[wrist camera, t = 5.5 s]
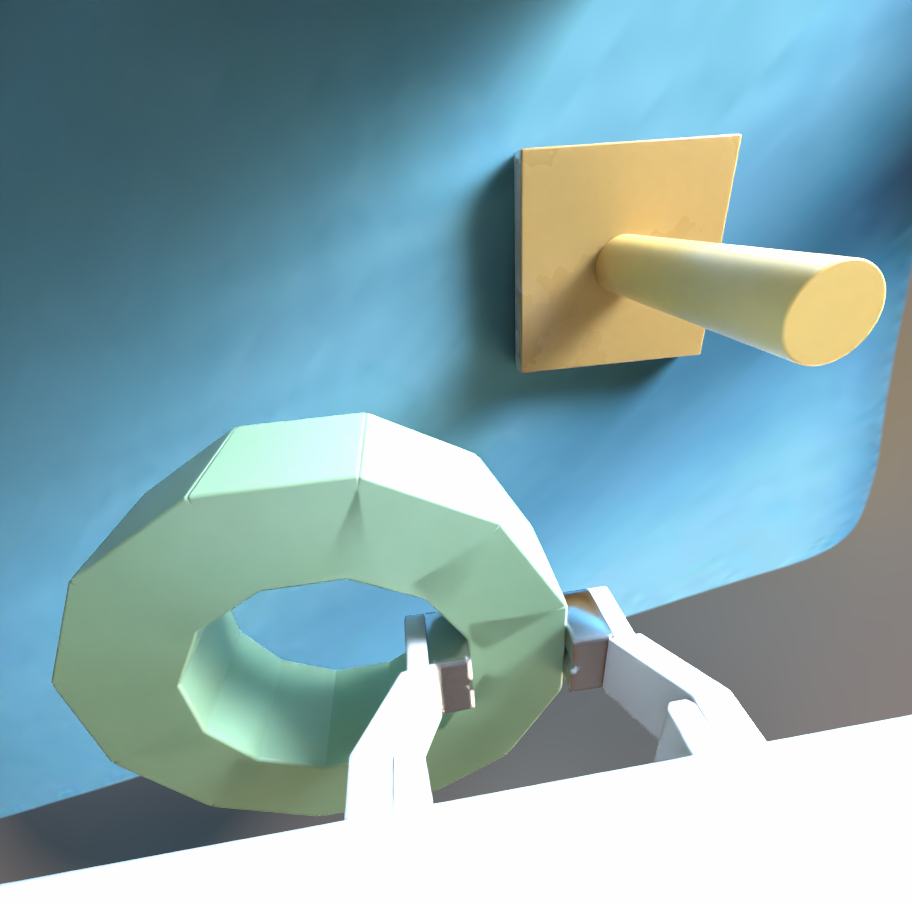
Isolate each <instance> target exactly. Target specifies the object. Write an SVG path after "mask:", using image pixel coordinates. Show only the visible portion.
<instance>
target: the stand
mask: <svg viewBox="0 0 912 904" xmlns="http://www.w3.org/2000/svg"><path fill="white" fill-rule="evenodd" d="M741 137H742V135H741V134H725V135H710V136H696V137H682V138H667V139H653V140H638V141H624V142H609V143H595V144H580V145H566V146H551V147H537V148H523V149H521V150H518V151H516V152H515V154H514V195H515V362H516V367H517V368H518V369H519V371H520V372H521V373H526V372H536V371H546V370H555V369H565V368H574V367H584V366H594V365H603V364H613V363H622V362H632V361H642V360H651V359H661V358H670V357H680V356H690V355H699V354H700V353H701V347H702V342H703V337H704V332H705V329H708V330H710V331H713V332H716V333H718V334H721V335H723V336H726V337H729V338H731V339H734V340H737V341H739V342H742V343H744V344H747V345H750V346H752V347H755V348H757V349H760V350H763V351H765V352H768V353H770V354H773V355H776V356H778V357H781V358H784V359H786V360H789V361H791V362H794V363H797V364H799V365H803V366H820V365H825V364H828V363H831V362H834V361H836V360H838V359H840V358H842V357H844V356H845V355H847V354H848V353H850V352H851V351H852V350H853V349H855V348H856V347H857V346H858V345H859V344H860V343H861V342H862V341H863V340H864V339H865V338H866V337H867V335H868V334H869V333H870V332H871V330H872V329H873V327H874V326H875V324H876V322H877V320H878V319H879V317H880V314H881V312H882V309H883V306H884V302H885V297H886V284H885V280H884V277H883V274H882V272H881V271H880V269H879V268H878V267H877V266H876V265H875V264H873V263H872V262H870V261H869V260H866V259H863V258H857V257H847V256H837V255H827V254H818V253H808V252H798V251H789V250H779V249H769V248H760V247H750V246H740V245H731V244H721V242H722V237H723V232H724V226H725V221H726V216H727V211H728V205H729V200H730V195H731V189H732V184H733V179H734V174H735V168H736V163H737V158H738V153H739V147H740V142H741Z"/></svg>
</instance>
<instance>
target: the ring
mask: <svg viewBox="0 0 912 904" xmlns="http://www.w3.org/2000/svg"><path fill="white" fill-rule="evenodd" d="M342 579H350V580H354V581H358V582H361V583H365V584H369V585H373V586H377V587H381V588H385V589H388V590H392V591H396V592H400V593H404V594H408V595H412V596H415V597H419V598H423V599H426V600H427V601H428V602H429V603H430V604H431V605H432V606H433V607H434V608H435V609H436V610H437V611H438V612H439V613H440V614H441V615H443V616H444V617H445V618H446V619H447V620H448V621H449V622H450V623H451V624H452V625H453V626H454V627H455V628H456V629H457V630H458V631H459V632H460V633H461V634H462V635H464V636H465V637H466V638H467V639H468V645H469V650H470V656H471V664H472V675H473V679H472V683H473V689H474V701H475V708H472V709H467V710H462V711H457V712H452V713H447V714H442V718H441V721H440V723H439V726H438V728H437V731H436V733H435V735H434V738H433V740H432V743H431V745H430V748H429V750H428V752H427V755H426V757H425V758H426V764H427V770H428V775H429V781H430V787H431V793H433V792H434V791H436V790H438V789H440V788H442V787H444V786H446V785H448V784H450V783H452V782H454V781H456V780H458V779H460V778H462V777H464V776H466V775H468V774H470V773H472V772H473V771H475V770H477V769H479V768H481V767H483V766H485V765H487V764H489V763H491V762H493V761H495V760H497V759H499V758H501V757H503V756H505V755H506V753H508V752H509V751H510V750H511V749H512V748H513V746H514V745H515V744H516V743H517V742H518V740H519V739H520V738H521V737H522V736H523V734H524V733H525V732H526V731H527V730H528V728H529V727H530V726H531V725H532V724H533V722H534V721H535V720H536V719H537V718H538V716H539V715H540V714H541V713H542V712H543V710H544V709H545V708H546V707H547V705H548V704H549V703H550V702H551V701H552V700H553V698H554V697H555V696H556V695H557V694H558V692H559V691H560V690H561V687H562V679H563V673H562V672H563V656H564V650H565V644H564V641H565V627H566V621H567V607H568V606H567V604H566V600H565V598H564V596H563V594H562V591H561V589H560V587H559V585H558V582H557V580H556V578H555V576H554V574H553V571H552V569H551V567H550V565H549V563H548V560H547V558H546V556H545V554H544V552H543V549H542V547H541V545H540V543H539V540H538V538H537V536H536V534H535V532H534V529H533V527H532V526H531V524H530V523H529V522H528V520H527V519H526V518H525V516H524V515H523V514H522V512H521V511H520V510H519V509H518V507H517V506H516V505H515V503H514V502H513V501H512V499H511V498H510V497H509V495H508V494H507V493H506V491H505V490H504V489H503V488H502V486H501V485H500V484H499V482H498V481H497V480H496V478H495V477H494V476H493V474H492V473H491V472H490V470H489V469H488V468H487V466H486V465H485V464H484V463H483V461H482V460H481V459H480V458H479V457H478V456H477V455H476V454H474V453H472V452H469V451H467V450H464V449H461V448H459V447H456V446H453V445H451V444H448V443H446V442H443V441H440V440H438V439H435V438H432V437H430V436H427V435H425V434H422V433H419V432H417V431H414V430H411V429H409V428H406V427H404V426H401V425H398V424H396V423H393V422H390V421H388V420H385V419H383V418H380V417H377V416H375V415H372V414H369V413H366V414H365V413H354V414H345V415H336V416H327V417H318V418H309V419H300V420H291V421H282V422H273V423H264V424H255V425H246V426H238V427H236V428H232V429H231V430H230V431H228V432H227V433H226V434H224V435H223V436H222V437H220V438H219V439H218V440H216V441H215V442H214V443H212V444H211V445H209V446H208V447H207V448H205V449H204V450H203V451H201V452H200V453H199V454H197V455H196V456H195V457H193V458H192V459H191V460H189V461H188V462H187V463H185V464H184V465H183V466H181V467H180V468H178V469H177V470H176V471H174V472H173V473H172V474H170V475H169V476H168V477H166V478H165V479H164V480H162V481H161V482H160V483H158V484H157V485H156V486H154V487H153V488H152V489H150V490H149V491H147V492H146V493H145V494H144V495H143V496H142V497H141V498H140V499H139V501H138V502H137V503H136V504H135V505H134V506H133V508H132V509H131V510H130V511H129V512H128V513H127V514H126V516H125V517H124V518H123V519H122V520H121V521H120V523H119V524H118V525H117V526H116V527H115V528H114V530H113V531H112V532H111V533H110V534H109V535H108V536H107V538H106V539H105V540H104V541H103V542H102V543H101V545H100V546H99V547H98V548H97V549H96V550H95V552H94V553H93V554H92V555H91V556H90V557H89V559H88V560H87V561H86V562H85V563H84V564H83V565H82V567H81V568H80V569H79V570H78V571H77V572H76V574H75V575H74V576H73V577H72V579H71V580H70V581H69V583H68V589H67V595H66V601H65V607H64V612H63V618H62V624H61V630H60V636H59V641H58V647H57V653H56V659H55V665H54V670H53V676H52V683H53V686H54V688H55V689H56V690H57V691H58V693H59V694H60V695H61V697H62V698H63V699H64V701H65V702H66V703H67V705H68V706H69V707H70V708H71V710H72V711H73V712H74V714H75V715H76V716H77V718H78V719H79V720H80V722H81V723H82V724H83V725H84V727H85V728H86V729H87V731H88V732H89V733H90V735H91V736H92V737H93V739H94V740H95V741H96V742H97V744H98V745H99V746H100V748H101V749H102V750H103V752H104V753H105V754H106V756H107V757H108V758H109V759H110V761H112V762H114V763H115V764H116V765H118V766H121V767H123V768H125V769H127V770H130V771H132V772H134V773H136V774H139V775H141V776H143V777H146V778H148V779H150V780H152V781H155V782H157V783H159V784H161V785H164V786H166V787H168V788H171V789H173V790H175V791H177V792H180V793H182V794H184V795H186V796H189V797H191V798H193V799H196V800H198V801H200V802H202V803H205V804H207V805H212V806H214V807H223V808H234V809H245V810H256V811H267V812H278V813H289V814H300V815H312V816H319V815H320V816H325V815H331V814H336V813H342V812H345V807H346V794H347V781H348V768H349V756H350V754H351V753H352V751H353V749H354V748H355V746H356V745H357V743H358V741H359V740H360V738H361V736H362V735H363V733H364V731H365V730H366V728H367V726H368V725H369V723H370V722H371V720H372V718H373V717H374V715H375V713H376V712H377V710H378V708H379V707H380V705H381V704H382V702H383V700H384V699H385V697H386V695H387V694H388V692H389V690H390V689H391V687H392V685H393V684H394V682H395V681H396V679H397V677H398V676H399V674H400V672H404V671H406V653H404V654H402V655H400V656H399V657H397V658H395V659H394V660H392V661H390V662H385V663H378V664H372V665H366V666H359V667H353V668H347V669H340V670H332V669H327V668H322V667H316V666H311V665H306V664H301V663H296V662H291V661H285V660H282V659H280V658H279V657H277V656H276V655H274V654H273V653H271V652H270V651H268V650H267V649H266V648H264V647H263V646H261V645H260V644H258V643H257V642H255V641H254V640H252V639H251V638H249V637H248V636H247V635H245V634H244V633H242V632H241V631H240V630H239V627H238V625H237V623H236V620H235V618H234V615H233V613H232V611H231V610H232V609H233V608H235V607H236V606H238V605H239V604H241V603H242V602H244V601H245V600H247V599H248V598H250V597H252V596H253V595H255V594H256V593H258V592H259V591H264V590H271V589H278V588H285V587H292V586H299V585H306V584H314V583H321V582H328V581H335V580H342Z"/></svg>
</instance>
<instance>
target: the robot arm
mask: <svg viewBox="0 0 912 904" xmlns="http://www.w3.org/2000/svg"><path fill="white" fill-rule="evenodd" d="M562 594H563V596H564V598H565V600H566V604H567V606H568V607H567V621H566V627H565V641H564V644H565V650H564V656H563V672H562V673H563V676H564V678H565V681H566V683H567V686H568V689H569V691H570V692H572V691H579V690H586V689H593V688H600V687H602V689H603V690H604V691H605V692H606V693H607V694H608V695H609V696H610V697H612V699H614V700H615V701H616V702H617V703H618V704H619V705H620V706H621V707H623V709H624V710H626V711H627V712H628V713H629V714H630V715H631V716H632V717H633V718H634V719H635V720H636V721H638V722H639V723H640V724H641V725H642V726H643V727H644V728H645V729H646V730H648V732H650V733H651V734H652V735H653V736H654V737H655V738H656V739H657V740H658V741H659V744H658V748H657V752H656V756H655V760H654V763H651V764H645V765H640V766H635V767H630V768H624V769H618V770H613V771H608V772H602V773H597V774H591V775H587V776H581V777H576V778H571V779H565V780H560V781H554V782H549V783H543V784H539V785H533V786H528V787H522V788H517V789H511V790H506V791H501V792H495V793H490V794H485V795H479V796H474V797H468V798H463V799H458V800H452V801H447V802H442V803H436V804H433V799H432V793H431V787H430V781H429V775H428V770H427V764H426V758H425V757H426V755H427V752H428V750H429V748H430V745H431V743H432V740H433V738H434V735H435V733H436V731H437V728H438V726H439V723H440V721H441V718H442V714H447V713H452V712H457V711H462V710H467V709H472V708H475V701H474V689H473V683H472V679H473V675H472V664H471V656H470V650H469V645H468V639H467V638H466V637H465V636H464V635H462V634H461V633H460V632H459V631H458V630H457V629H456V628H455V627H454V626H453V625H452V624H451V623H450V622H449V621H448V620H447V619H446V618H445V617H444V616H443V615H441V614H440V613H439V612H430V613H425V615H424V614H416V615H409V616H405V621H404V623H405V649H406V671H404V672H400V674H399V676H398V677H397V679H396V681H395V682H394V684H393V685H392V687H391V689H390V690H389V692H388V694H387V695H386V697H385V699H384V700H383V702H382V704H381V705H380V707H379V708H378V710H377V712H376V713H375V715H374V717H373V718H372V720H371V722H370V723H369V725H368V726H367V728H366V730H365V731H364V733H363V735H362V736H361V738H360V740H359V741H358V743H357V745H356V746H355V748H354V749H353V751H352V753H351V754H350V756H349V768H348V781H347V794H346V807H345V820H344V821H339V822H334V823H329V824H324V825H318V826H312V827H307V828H302V829H296V830H291V831H286V832H281V833H275V834H269V835H264V836H259V837H253V838H248V839H243V840H237V841H232V842H226V843H221V844H215V845H210V846H204V847H199V848H194V849H188V850H183V851H177V852H172V853H167V854H161V855H156V856H150V857H145V858H140V859H135V860H129V861H123V862H118V863H113V864H108V865H102V866H97V867H91V868H86V869H80V870H75V871H69V872H64V873H59V874H53V875H48V876H43V877H37V878H32V879H26V880H21V881H15V882H9V883H4V884H0V904H912V715H909V716H903V717H898V718H893V719H887V720H882V721H876V722H871V723H866V724H861V725H855V726H850V727H844V728H839V729H833V730H828V731H823V732H818V733H812V734H807V735H801V736H796V737H790V738H785V739H780V740H775V741H769V742H767V741H766V740H765V739H764V737H763V736H762V734H761V733H760V732H759V730H758V729H757V728H756V726H755V725H754V723H753V722H752V721H751V719H750V718H749V716H748V715H747V713H746V712H745V711H744V709H743V708H742V707H741V705H740V704H739V702H738V701H737V699H736V698H735V697H734V695H733V694H732V692H731V691H730V690H728V689H727V688H726V687H724V686H722V685H721V684H719V683H718V682H716V681H714V680H713V679H711V678H710V677H708V676H707V675H705V674H703V673H702V672H700V671H699V670H697V669H695V668H694V667H692V666H691V665H689V664H688V663H686V662H685V661H683V660H681V659H680V658H678V657H677V656H675V655H673V654H672V653H670V652H669V651H667V650H666V649H664V648H663V647H661V646H659V645H658V644H656V643H655V642H653V641H652V640H650V639H648V638H647V637H645V636H644V635H642V634H635V633H634V632H633V630H632V628H631V626H630V625H629V623H628V621H627V620H626V618H625V616H624V615H623V613H622V611H621V610H620V608H619V606H618V604H617V603H616V601H615V599H614V598H613V596H612V594H611V593H610V591H609V589H608V588H607V587H605V586H602V587H596V588H589V589H582V590H576V591H570V592H563V593H562Z"/></svg>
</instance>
